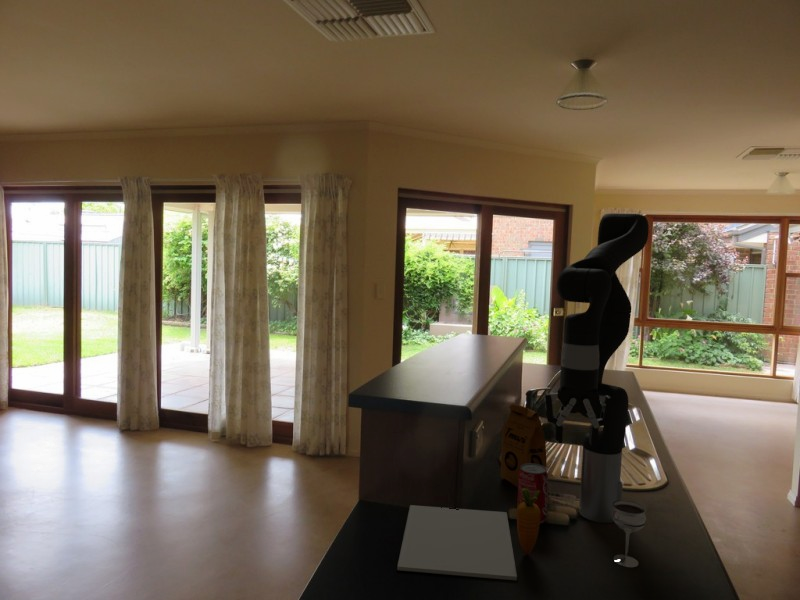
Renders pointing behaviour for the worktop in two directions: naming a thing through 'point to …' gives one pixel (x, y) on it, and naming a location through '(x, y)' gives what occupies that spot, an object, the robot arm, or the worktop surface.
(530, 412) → the coffee package
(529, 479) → the soda can
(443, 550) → the rubber mat
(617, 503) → the wineglass
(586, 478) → the robot arm
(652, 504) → the worktop surface
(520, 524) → the carrot
